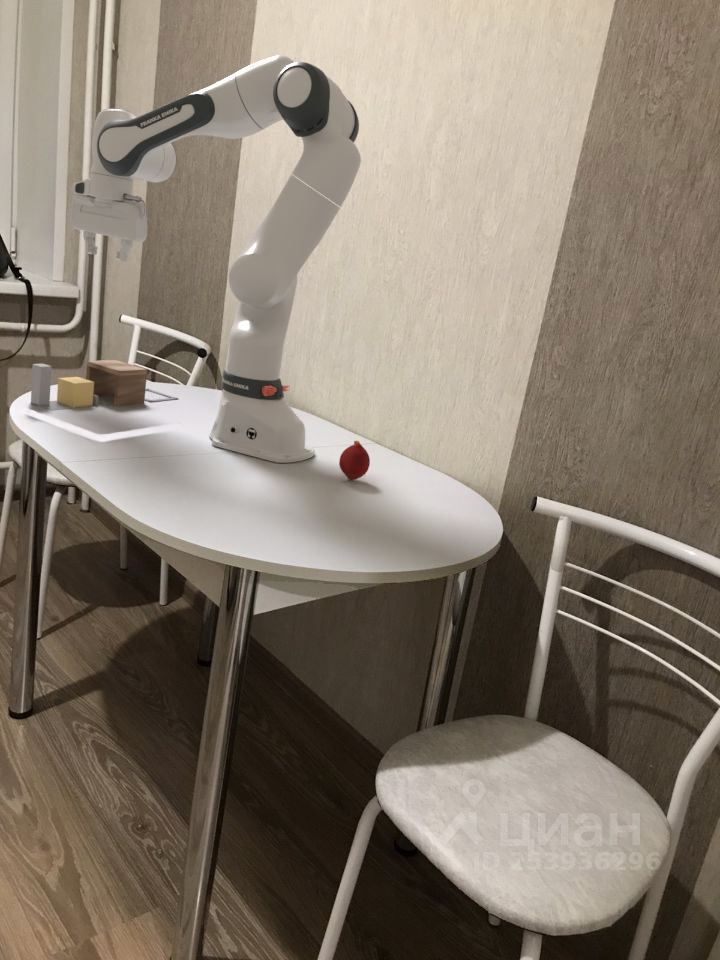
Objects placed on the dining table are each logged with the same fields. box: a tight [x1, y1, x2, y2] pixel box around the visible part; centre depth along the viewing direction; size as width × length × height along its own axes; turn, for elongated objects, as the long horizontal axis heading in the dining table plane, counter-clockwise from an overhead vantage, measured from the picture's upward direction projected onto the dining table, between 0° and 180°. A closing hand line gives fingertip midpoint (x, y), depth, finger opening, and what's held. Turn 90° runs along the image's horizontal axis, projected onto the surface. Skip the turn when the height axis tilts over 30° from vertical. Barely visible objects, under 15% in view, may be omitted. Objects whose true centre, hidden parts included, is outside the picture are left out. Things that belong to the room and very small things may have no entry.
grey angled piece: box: [30, 363, 111, 411], centre depth 155 cm, size 6×15×9 cm, turn 150°
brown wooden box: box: [85, 359, 148, 407], centre depth 165 cm, size 10×8×9 cm
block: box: [56, 376, 94, 408], centre depth 156 cm, size 5×5×5 cm
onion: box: [338, 440, 371, 482], centre depth 141 cm, size 6×6×8 cm
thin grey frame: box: [144, 388, 179, 403], centre depth 175 cm, size 10×9×2 cm
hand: (106, 257), depth 164 cm, fingers open, 8 cm apart
